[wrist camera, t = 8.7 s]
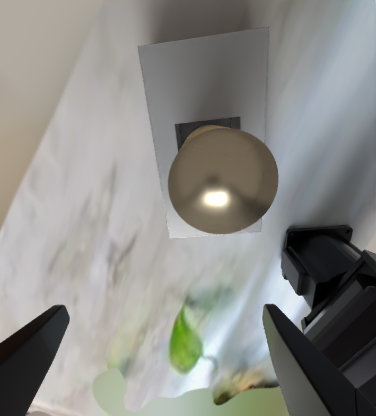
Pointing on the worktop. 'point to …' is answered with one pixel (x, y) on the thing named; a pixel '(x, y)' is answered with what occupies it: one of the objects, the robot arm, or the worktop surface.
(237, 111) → the block
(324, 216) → the worktop surface
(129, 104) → the worktop surface
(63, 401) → the worktop surface
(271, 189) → the brass plug
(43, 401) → the worktop surface
